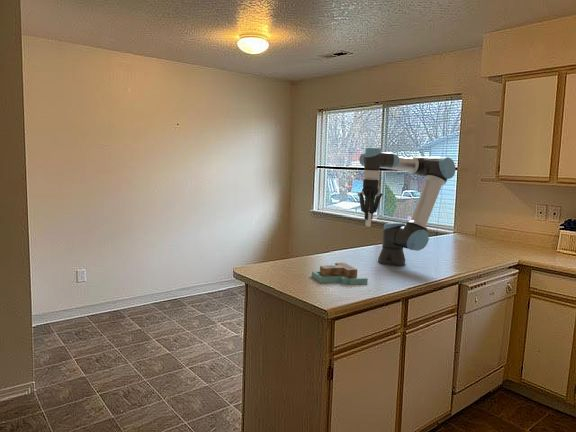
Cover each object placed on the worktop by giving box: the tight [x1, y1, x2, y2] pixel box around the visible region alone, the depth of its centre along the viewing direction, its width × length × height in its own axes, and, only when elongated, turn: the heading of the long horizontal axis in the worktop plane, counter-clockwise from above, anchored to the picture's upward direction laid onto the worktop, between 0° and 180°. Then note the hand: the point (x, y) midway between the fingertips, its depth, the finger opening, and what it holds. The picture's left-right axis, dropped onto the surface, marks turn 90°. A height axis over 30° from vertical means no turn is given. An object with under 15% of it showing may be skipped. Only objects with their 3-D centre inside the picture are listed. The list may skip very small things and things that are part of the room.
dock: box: [311, 270, 368, 285], centre depth 207 cm, size 22×21×2 cm
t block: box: [319, 262, 358, 278], centre depth 206 cm, size 15×14×6 cm
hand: (367, 226), depth 215 cm, fingers closed
